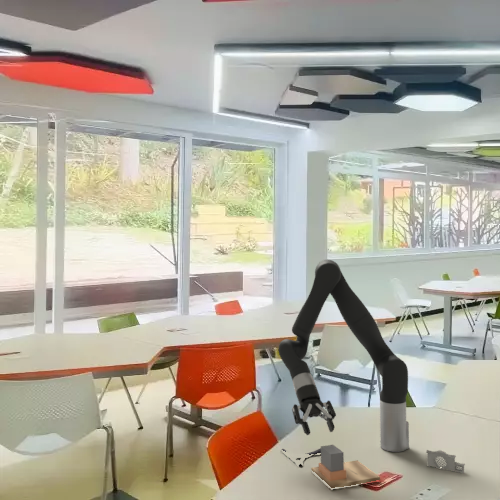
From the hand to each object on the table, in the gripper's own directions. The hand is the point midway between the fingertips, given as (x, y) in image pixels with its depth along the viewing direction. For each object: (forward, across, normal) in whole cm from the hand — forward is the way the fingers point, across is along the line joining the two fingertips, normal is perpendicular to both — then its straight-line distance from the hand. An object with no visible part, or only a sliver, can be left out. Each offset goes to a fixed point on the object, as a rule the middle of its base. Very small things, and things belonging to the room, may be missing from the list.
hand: (320, 432), depth 183 cm
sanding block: (+13, 0, +2) cm, 13 cm away
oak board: (+14, +5, +3) cm, 15 cm away
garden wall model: (+19, +38, -1) cm, 43 cm away
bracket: (+1, +1, +18) cm, 18 cm away
